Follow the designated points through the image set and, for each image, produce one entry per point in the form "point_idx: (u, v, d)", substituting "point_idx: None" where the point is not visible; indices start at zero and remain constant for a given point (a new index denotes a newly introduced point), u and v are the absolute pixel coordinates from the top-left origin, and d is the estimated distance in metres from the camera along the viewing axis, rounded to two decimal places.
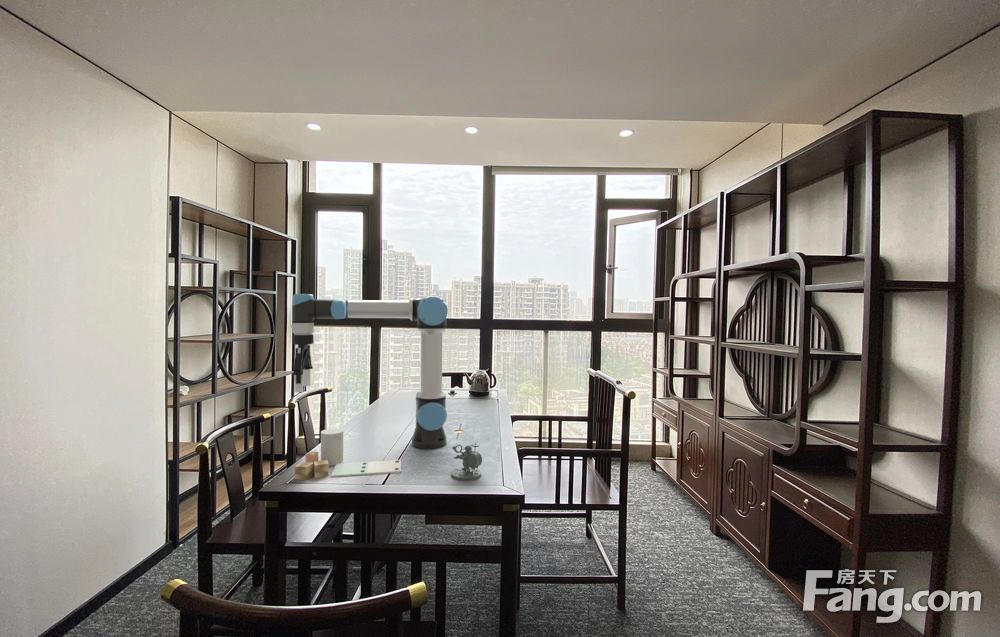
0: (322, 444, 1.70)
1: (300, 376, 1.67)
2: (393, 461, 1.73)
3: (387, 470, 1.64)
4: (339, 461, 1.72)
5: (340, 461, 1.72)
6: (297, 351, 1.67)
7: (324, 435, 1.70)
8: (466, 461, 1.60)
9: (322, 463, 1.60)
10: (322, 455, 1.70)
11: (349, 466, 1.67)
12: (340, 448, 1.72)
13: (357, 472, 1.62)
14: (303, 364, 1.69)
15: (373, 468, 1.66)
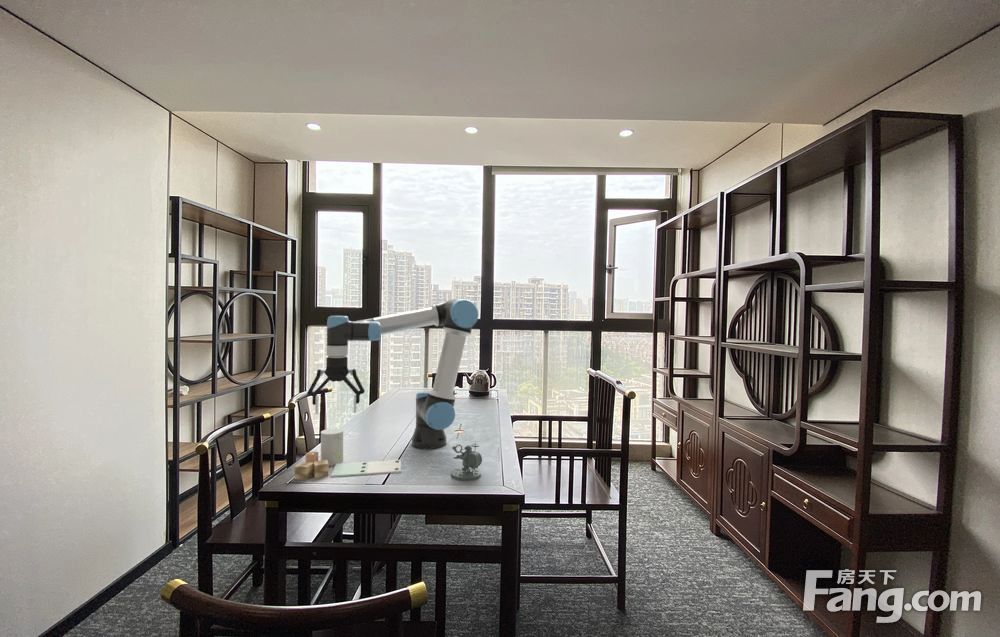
0: (322, 444, 1.70)
1: (314, 398, 1.68)
2: (393, 461, 1.73)
3: (387, 470, 1.64)
4: (339, 461, 1.72)
5: (340, 461, 1.72)
6: None
7: (324, 435, 1.70)
8: (466, 461, 1.60)
9: (322, 463, 1.60)
10: (322, 455, 1.70)
11: (349, 466, 1.67)
12: (340, 448, 1.72)
13: (357, 472, 1.62)
14: (321, 386, 1.68)
15: (373, 468, 1.66)
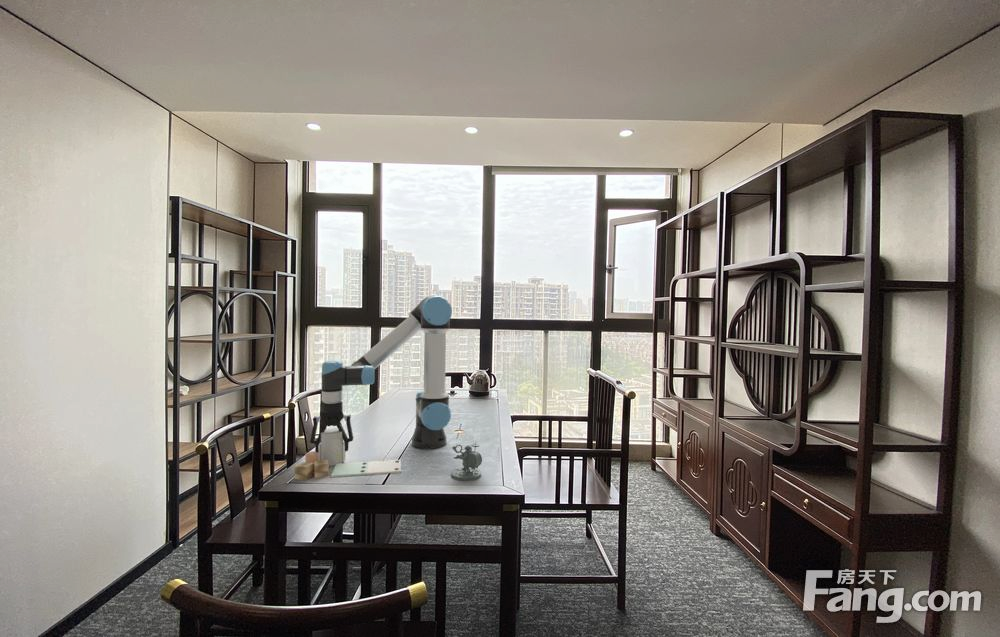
0: (322, 444, 1.70)
1: (316, 446, 1.72)
2: (393, 461, 1.73)
3: (387, 470, 1.64)
4: (339, 461, 1.72)
5: (340, 461, 1.72)
6: None
7: (324, 435, 1.70)
8: (466, 461, 1.60)
9: (322, 463, 1.60)
10: (322, 455, 1.70)
11: (349, 466, 1.67)
12: (340, 448, 1.72)
13: (357, 472, 1.62)
14: None
15: (373, 468, 1.66)
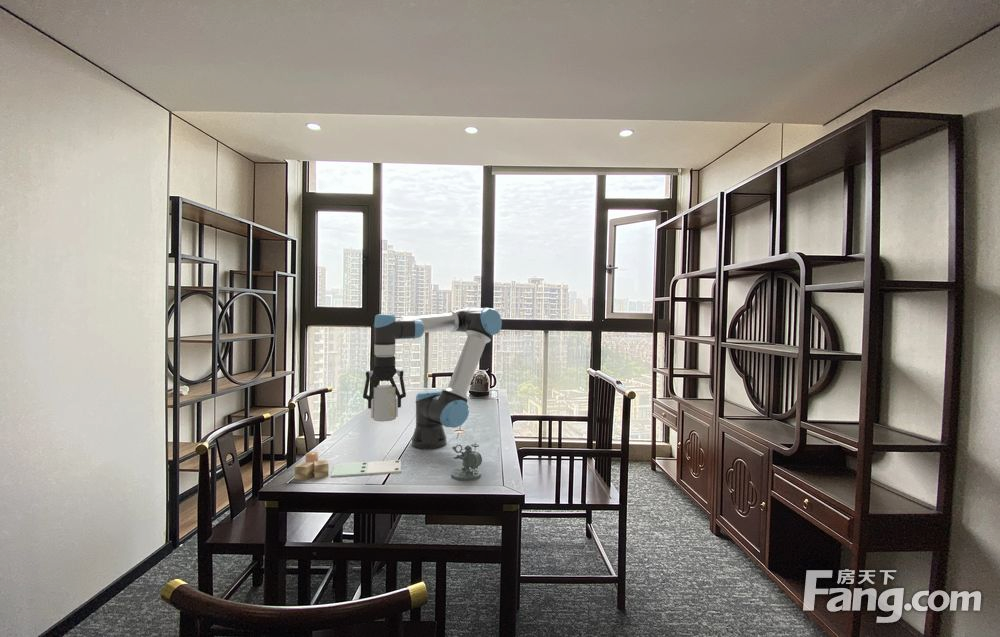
0: (375, 399, 1.64)
1: (369, 401, 1.66)
2: (393, 461, 1.73)
3: (387, 470, 1.64)
4: (392, 417, 1.66)
5: (393, 417, 1.66)
6: None
7: (378, 390, 1.64)
8: (466, 461, 1.60)
9: (322, 463, 1.60)
10: (375, 411, 1.64)
11: (349, 466, 1.67)
12: (393, 403, 1.66)
13: (357, 472, 1.62)
14: None
15: (373, 468, 1.66)
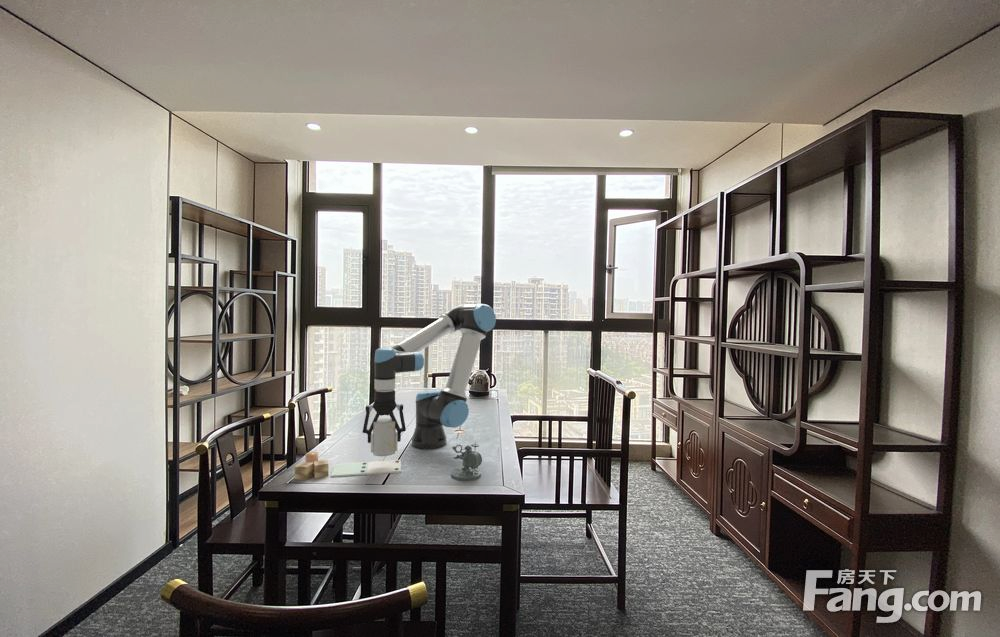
0: (375, 434, 1.65)
1: (369, 436, 1.66)
2: (393, 461, 1.73)
3: (387, 470, 1.64)
4: (392, 452, 1.66)
5: (393, 452, 1.66)
6: None
7: (377, 424, 1.64)
8: (466, 461, 1.60)
9: (322, 463, 1.60)
10: (375, 445, 1.65)
11: (349, 466, 1.67)
12: (393, 438, 1.66)
13: (357, 472, 1.62)
14: None
15: (373, 468, 1.66)
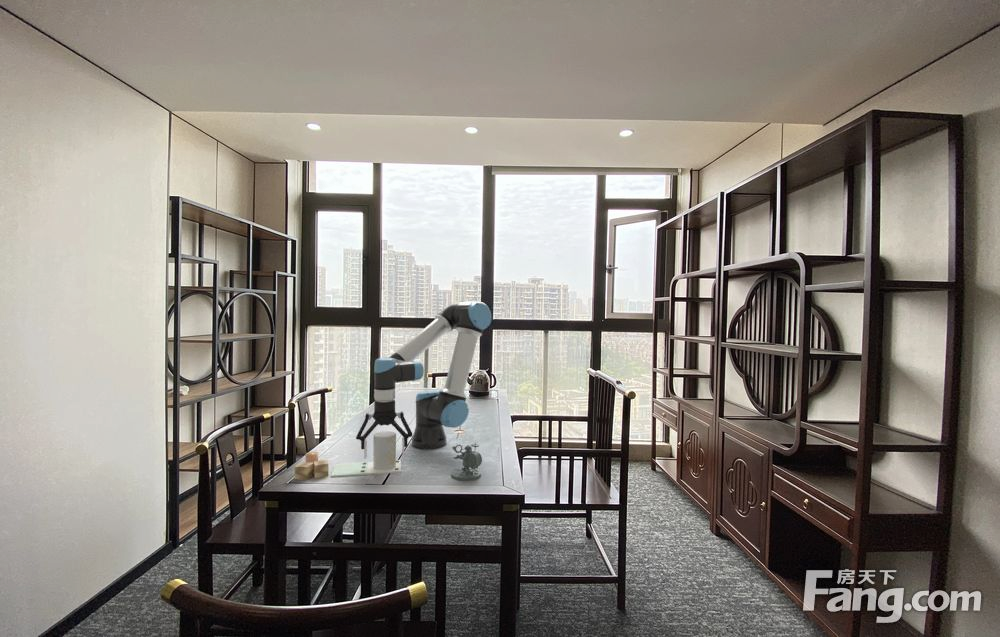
0: (375, 448, 1.65)
1: (362, 442, 1.66)
2: None
3: (387, 470, 1.64)
4: (392, 465, 1.66)
5: (393, 465, 1.67)
6: None
7: (378, 438, 1.64)
8: (466, 461, 1.60)
9: (322, 463, 1.60)
10: (375, 459, 1.65)
11: (349, 466, 1.67)
12: (393, 451, 1.66)
13: (357, 472, 1.62)
14: (369, 431, 1.66)
15: (373, 468, 1.66)
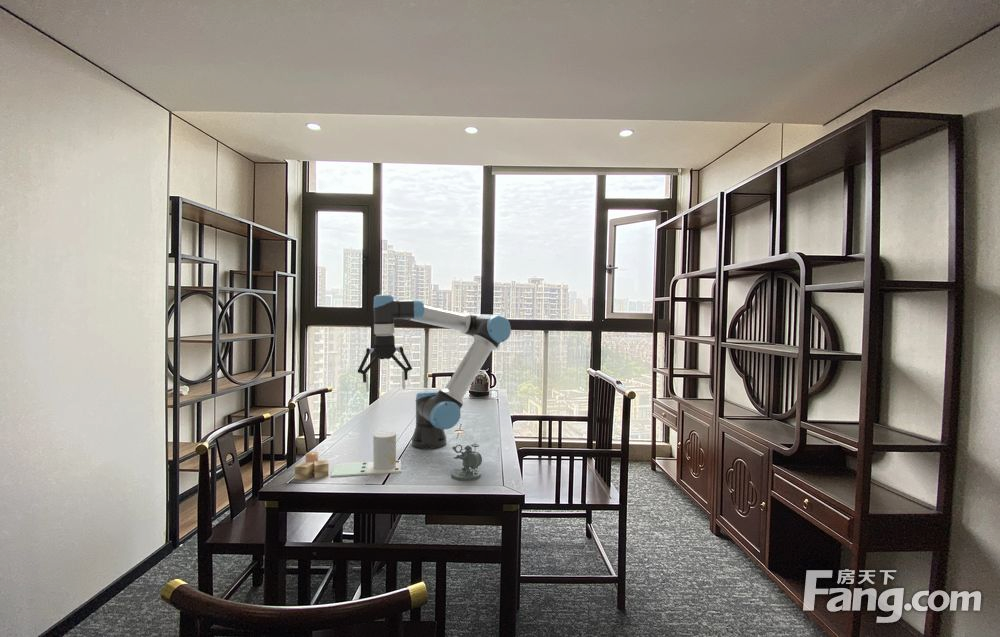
0: (375, 448, 1.65)
1: (364, 376, 1.71)
2: None
3: (387, 470, 1.64)
4: (392, 465, 1.66)
5: (393, 465, 1.67)
6: None
7: (378, 438, 1.64)
8: (466, 461, 1.60)
9: (322, 463, 1.60)
10: (375, 459, 1.65)
11: (349, 466, 1.67)
12: (393, 451, 1.66)
13: (357, 472, 1.62)
14: (371, 364, 1.71)
15: (373, 468, 1.66)
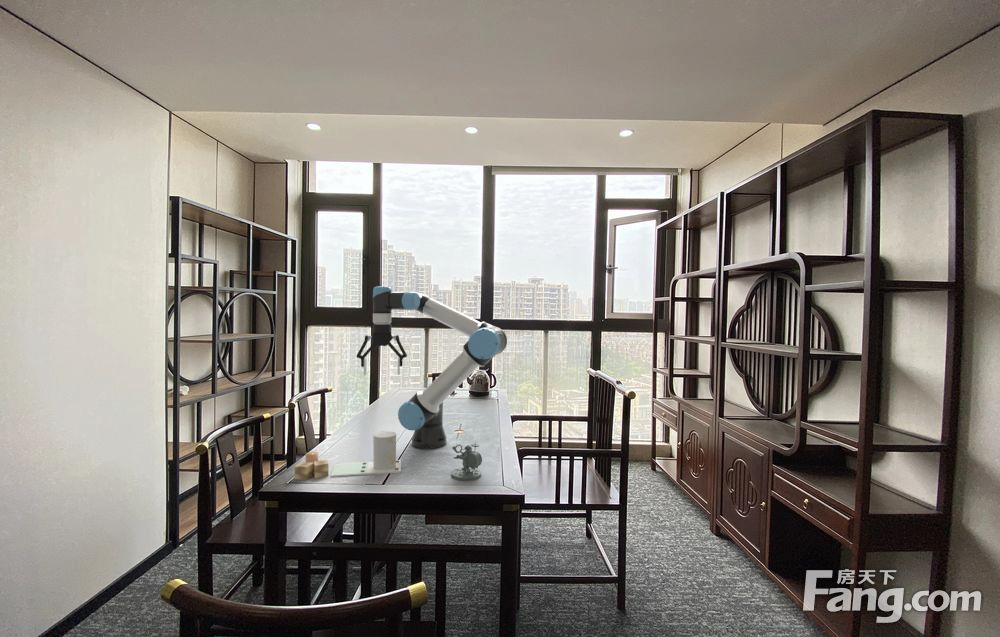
0: (375, 448, 1.65)
1: (362, 361, 1.86)
2: None
3: (387, 470, 1.64)
4: (392, 465, 1.66)
5: (393, 465, 1.67)
6: None
7: (378, 438, 1.64)
8: (466, 461, 1.60)
9: (322, 463, 1.60)
10: (375, 459, 1.65)
11: (349, 466, 1.67)
12: (393, 451, 1.66)
13: (357, 472, 1.62)
14: (368, 350, 1.86)
15: (373, 468, 1.66)
